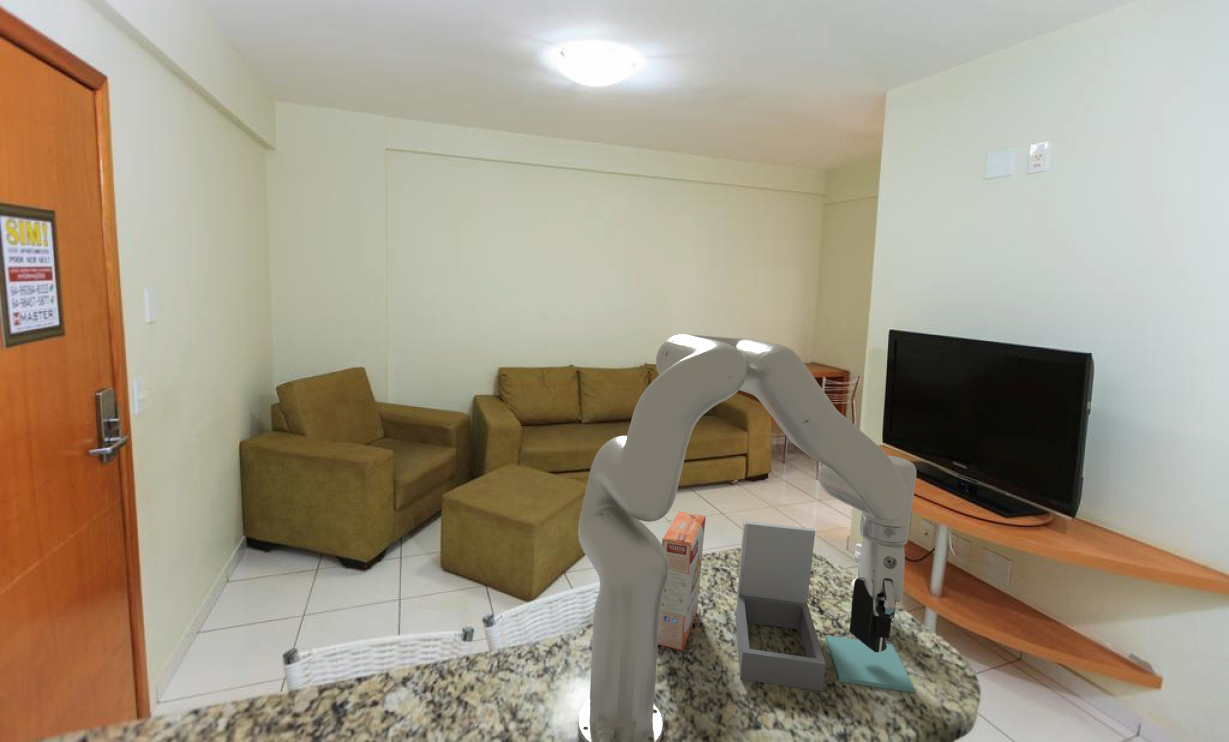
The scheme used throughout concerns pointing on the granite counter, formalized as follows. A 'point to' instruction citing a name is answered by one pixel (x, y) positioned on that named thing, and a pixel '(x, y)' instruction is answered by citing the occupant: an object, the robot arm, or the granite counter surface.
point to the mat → (868, 665)
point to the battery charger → (865, 616)
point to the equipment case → (777, 603)
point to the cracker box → (681, 579)
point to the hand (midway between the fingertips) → (872, 621)
